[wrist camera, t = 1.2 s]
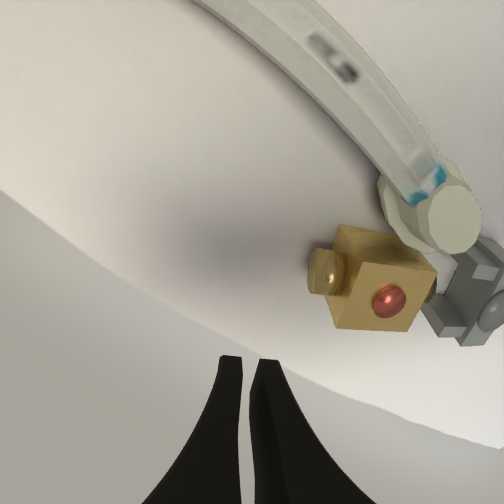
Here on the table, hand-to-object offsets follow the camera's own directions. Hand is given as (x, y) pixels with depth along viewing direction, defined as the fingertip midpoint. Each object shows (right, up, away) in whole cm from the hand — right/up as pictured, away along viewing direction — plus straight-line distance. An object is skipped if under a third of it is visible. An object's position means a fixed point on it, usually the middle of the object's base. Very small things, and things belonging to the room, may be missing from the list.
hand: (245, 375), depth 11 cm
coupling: (+17, +3, +10) cm, 20 cm away
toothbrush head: (+3, +14, +4) cm, 15 cm away
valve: (+8, +4, +10) cm, 13 cm away
